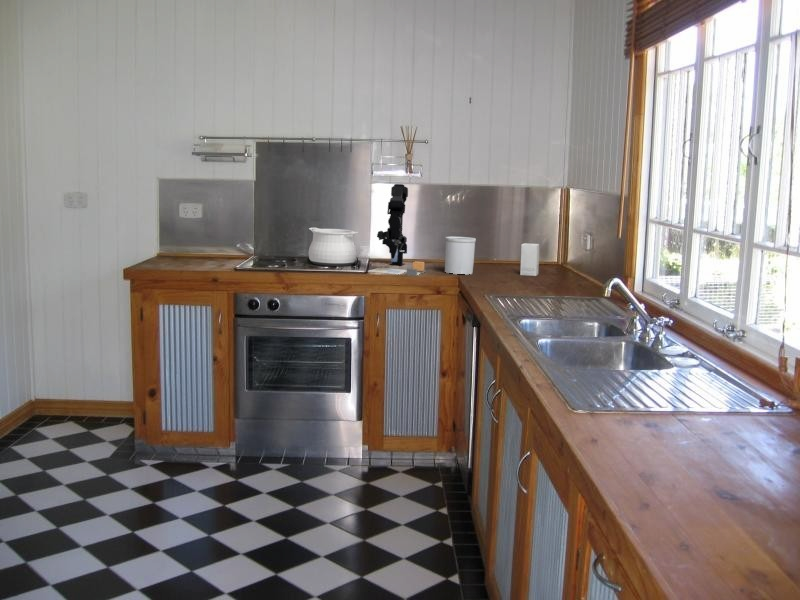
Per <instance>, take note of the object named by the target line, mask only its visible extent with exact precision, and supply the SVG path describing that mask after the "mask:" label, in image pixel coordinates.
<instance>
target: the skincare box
mask: <svg viewBox="0 0 800 600" xmlns="http://www.w3.org/2000/svg"><path fill="white" fill-rule="evenodd" d="M520 249H521V250H520V271H519V272H520V274H519V275H520V276H528V277H529V276H530V277H536V276H538V275H539V268H540V267H539V265H540V243H529V242H528V243H522V244H521V245H520Z"/></svg>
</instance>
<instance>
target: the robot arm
mask: <svg viewBox="0 0 800 600" xmlns="http://www.w3.org/2000/svg"><path fill="white" fill-rule="evenodd" d="M390 192H391V193H390V195H391V197H390V199H389V201H388V203H387V211H386V212H387V213H386V214H387V215H389V218H388V221H387V223H388V226H389V227H387V229H386V230H385V231H383V230H379V231H378V232H377V234H376V238H378V241H380V240H382V243H381V244H382V245H385V246H386V247H388V251H389V254H390V258H391V257H392V258H393V259H394V257H395V254H396V252H397V249H398V256H397V262H390V263H389V266H391V265H392V266H399V267H400V266H404V265H406V263H403V261H404V255H405V254H408V244H407V242H408V241H407V239H408V238H407V236H405V235H404V234H403V217H404V214H405V213H406V212H405V211H406V204H405V203H406V201H407V198H408V196H409V188H408V187H407V186H405V184H402V183H395V184H394V185H393V186H391V190H390ZM397 244H398V245H397Z"/></svg>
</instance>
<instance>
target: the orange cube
mask: <svg viewBox="0 0 800 600" xmlns="http://www.w3.org/2000/svg"><path fill="white" fill-rule="evenodd" d="M412 264H413V265H412V269H417V271H423V270H425V261H418V260H417V261H416V260H415V261H413V263H412Z"/></svg>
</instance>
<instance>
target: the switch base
mask: <svg viewBox="0 0 800 600" xmlns="http://www.w3.org/2000/svg"><path fill="white" fill-rule="evenodd" d="M406 270H407V272H406V276H414V277H417V275H418V276H419V274H420V275H422V274H421V273H423V274H425V273H424V272H426V273H427V271H426V270H425V269H424V270H423V271H417V269H413V268H406Z"/></svg>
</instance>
